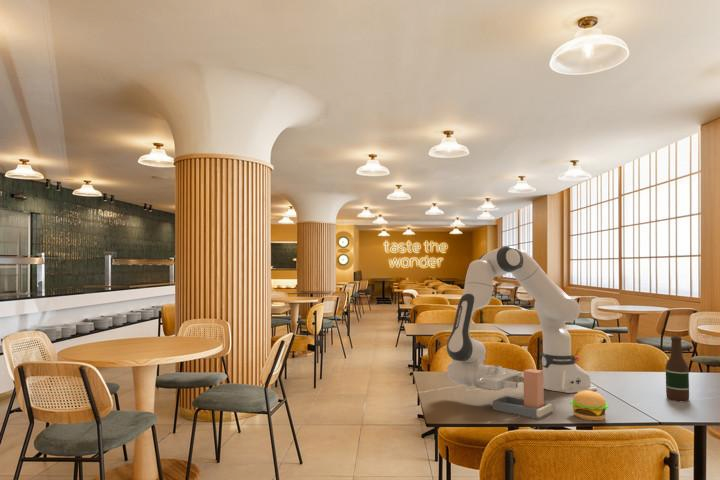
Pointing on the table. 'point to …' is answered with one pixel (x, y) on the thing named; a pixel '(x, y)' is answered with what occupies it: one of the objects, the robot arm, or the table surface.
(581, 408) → the hamburger
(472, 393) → the table surface
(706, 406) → the table surface
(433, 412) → the table surface
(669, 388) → the beer bottle
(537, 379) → the post
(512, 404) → the slot board
